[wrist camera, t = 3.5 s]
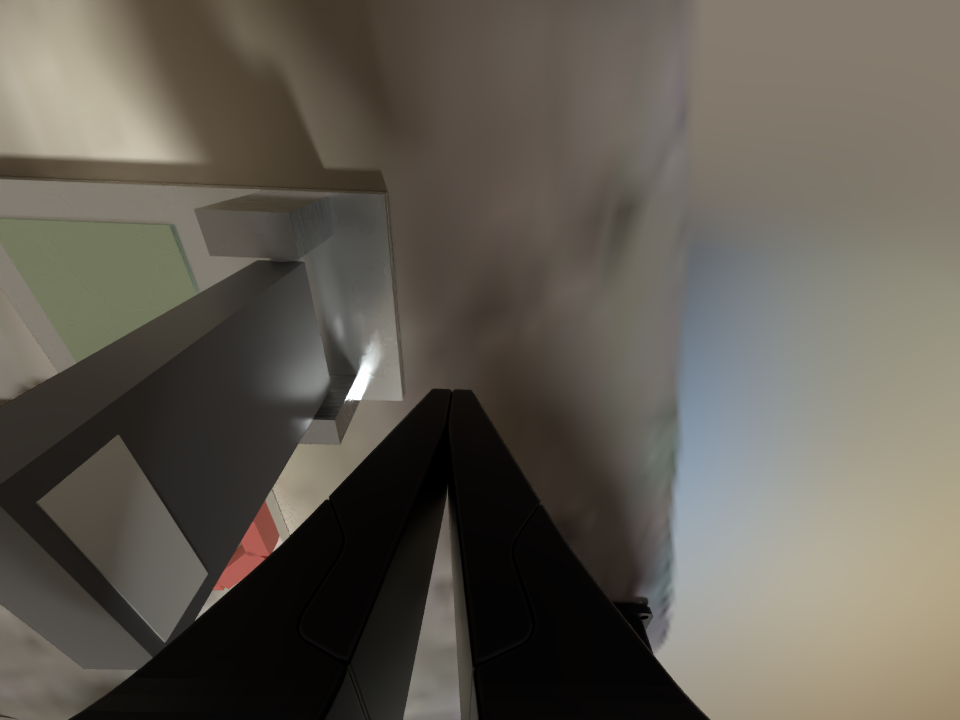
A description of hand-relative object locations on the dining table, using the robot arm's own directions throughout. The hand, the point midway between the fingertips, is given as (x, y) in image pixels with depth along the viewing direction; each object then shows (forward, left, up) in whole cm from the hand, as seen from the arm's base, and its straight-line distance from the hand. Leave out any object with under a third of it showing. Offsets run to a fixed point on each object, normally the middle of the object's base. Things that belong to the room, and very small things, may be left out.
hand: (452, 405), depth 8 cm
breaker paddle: (+5, 0, -4) cm, 6 cm away
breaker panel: (+8, 0, -5) cm, 10 cm away
